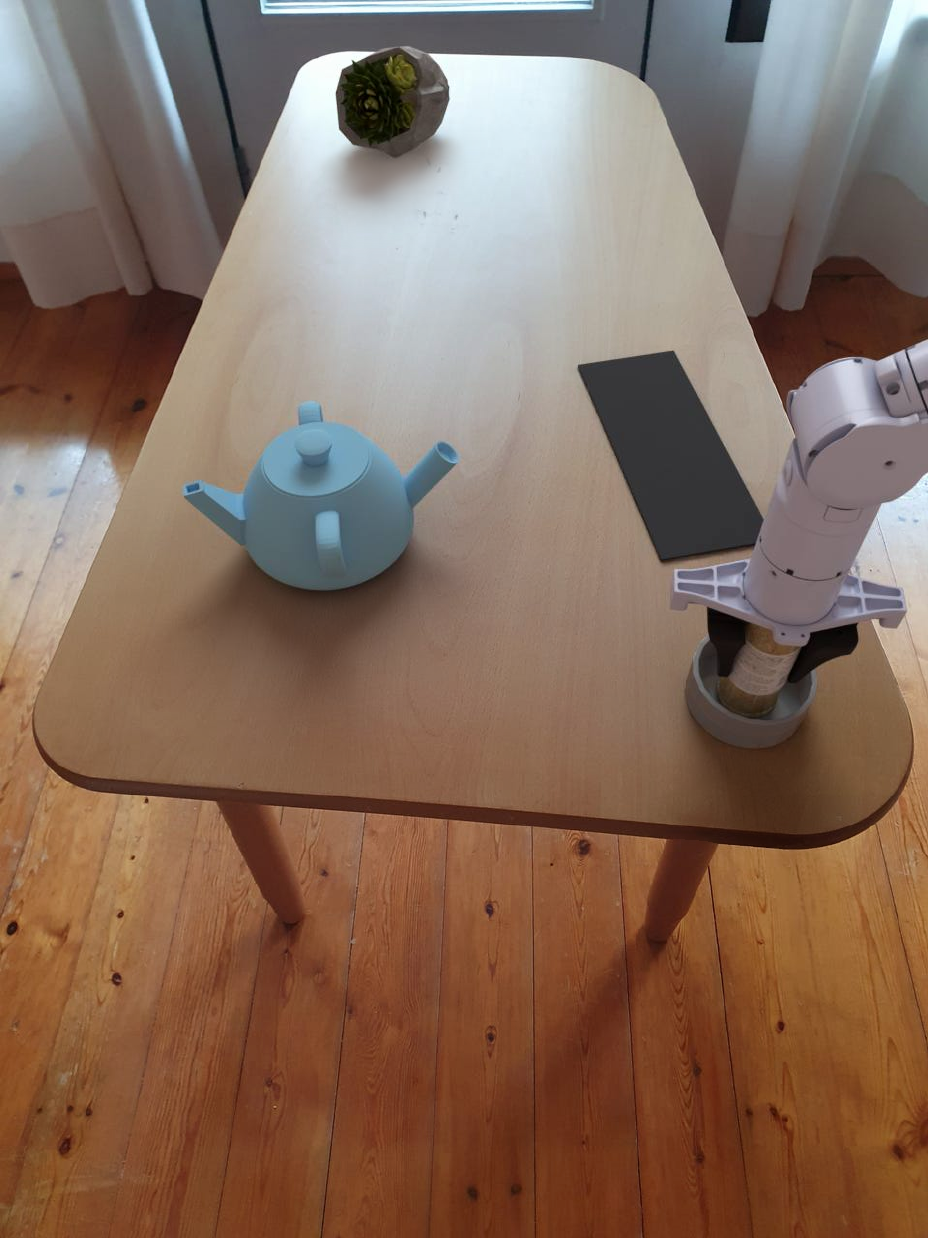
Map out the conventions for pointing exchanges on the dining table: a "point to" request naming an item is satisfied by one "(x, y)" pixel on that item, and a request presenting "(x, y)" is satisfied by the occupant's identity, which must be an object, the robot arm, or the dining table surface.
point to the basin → (738, 728)
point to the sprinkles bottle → (756, 673)
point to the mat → (672, 456)
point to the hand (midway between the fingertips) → (756, 668)
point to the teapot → (323, 504)
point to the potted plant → (392, 100)
